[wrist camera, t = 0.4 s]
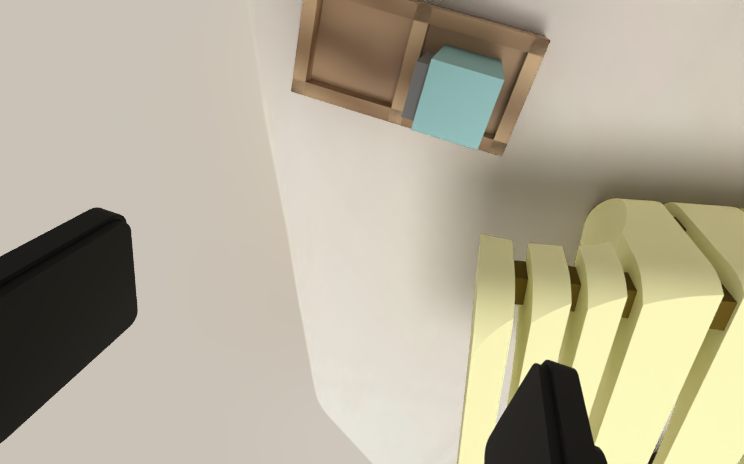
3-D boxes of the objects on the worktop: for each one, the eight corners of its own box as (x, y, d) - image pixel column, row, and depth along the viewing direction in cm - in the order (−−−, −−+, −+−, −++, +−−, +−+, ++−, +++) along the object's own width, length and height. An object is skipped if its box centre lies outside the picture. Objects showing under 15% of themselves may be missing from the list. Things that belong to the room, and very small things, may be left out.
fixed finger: (434, 41, 30) (417, 54, 23) (501, 60, 30) (504, 80, 23) (418, 97, 32) (397, 125, 25) (480, 116, 32) (477, 150, 25)
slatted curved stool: (941, 204, 29) (1430, 432, 14) (827, 375, 37) (1063, 643, 22) (483, 174, 36) (476, 308, 21) (467, 324, 43) (453, 502, 28)
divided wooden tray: (322, -27, 31) (306, -29, 29) (545, 36, 30) (550, 40, 27) (306, 83, 36) (291, 91, 33) (501, 143, 34) (501, 156, 31)
